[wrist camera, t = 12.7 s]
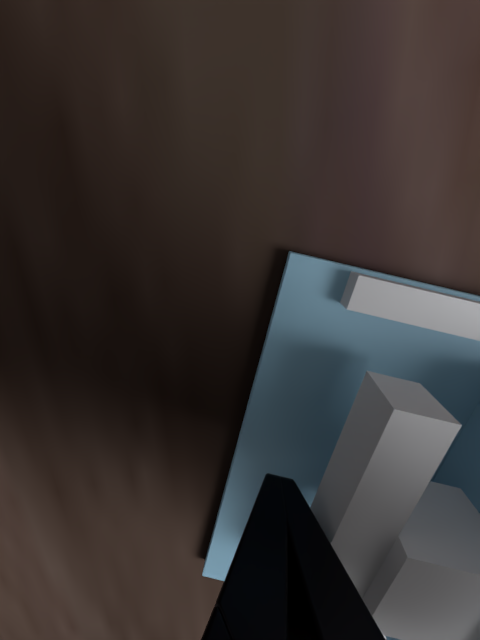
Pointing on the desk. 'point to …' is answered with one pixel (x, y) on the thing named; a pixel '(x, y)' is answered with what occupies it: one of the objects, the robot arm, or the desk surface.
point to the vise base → (340, 375)
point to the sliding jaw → (407, 511)
